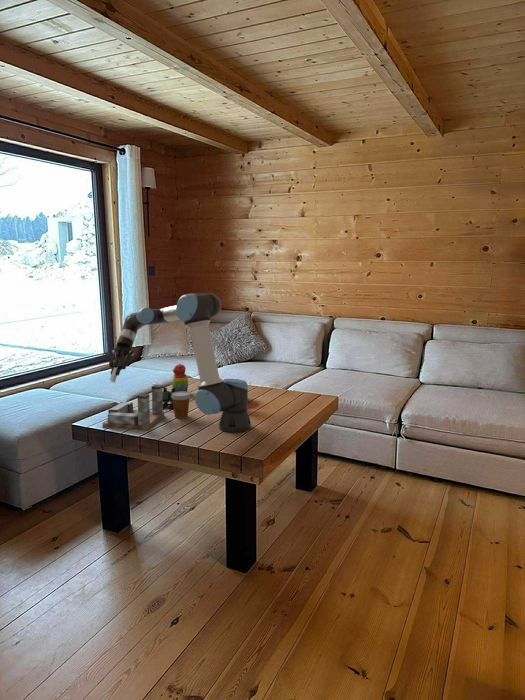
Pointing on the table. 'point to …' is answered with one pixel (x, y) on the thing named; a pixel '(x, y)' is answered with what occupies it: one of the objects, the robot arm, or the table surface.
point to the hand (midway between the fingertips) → (112, 380)
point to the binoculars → (168, 398)
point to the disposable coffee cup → (181, 404)
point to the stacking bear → (180, 378)
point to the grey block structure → (139, 412)
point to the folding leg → (120, 408)
